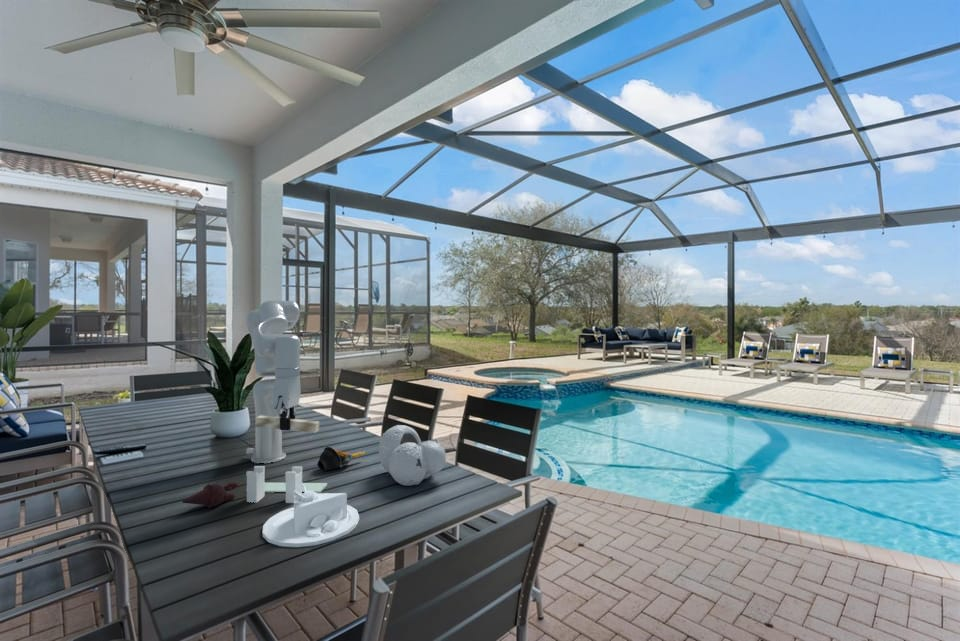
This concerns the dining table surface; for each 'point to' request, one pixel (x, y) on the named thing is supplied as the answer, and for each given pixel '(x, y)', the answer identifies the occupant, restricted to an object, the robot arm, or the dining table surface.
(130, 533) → the dining table surface
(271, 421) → the rail
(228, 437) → the dining table surface
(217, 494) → the icecream
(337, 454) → the fried shrimp in bowl
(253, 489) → the post
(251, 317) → the robot arm
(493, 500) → the dining table surface
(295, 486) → the post
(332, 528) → the dish
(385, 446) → the grey lumpy clump
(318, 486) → the mat
